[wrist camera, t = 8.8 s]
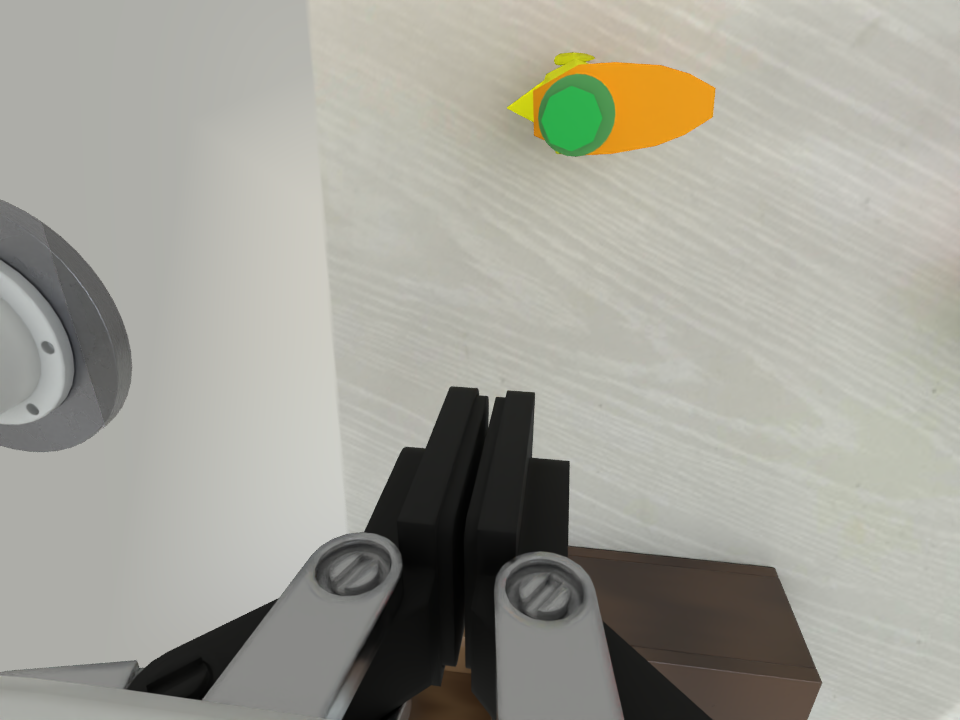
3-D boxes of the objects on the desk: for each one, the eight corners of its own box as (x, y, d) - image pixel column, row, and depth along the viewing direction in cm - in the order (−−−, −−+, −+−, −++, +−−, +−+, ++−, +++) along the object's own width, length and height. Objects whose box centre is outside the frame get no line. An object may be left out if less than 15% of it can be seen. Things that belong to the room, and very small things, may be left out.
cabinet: (524, 674, 43) (515, 787, 36) (533, 541, 38) (524, 645, 31) (733, 701, 41) (765, 825, 35) (775, 567, 36) (822, 682, 29)
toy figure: (674, 46, 25) (753, 31, 14) (668, 137, 26) (735, 184, 16) (513, 58, 26) (474, 53, 15) (517, 145, 27) (483, 195, 17)
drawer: (323, 653, 44) (290, 732, 39) (304, 535, 39) (264, 606, 34) (575, 687, 42) (576, 774, 37) (590, 565, 37) (593, 647, 32)
